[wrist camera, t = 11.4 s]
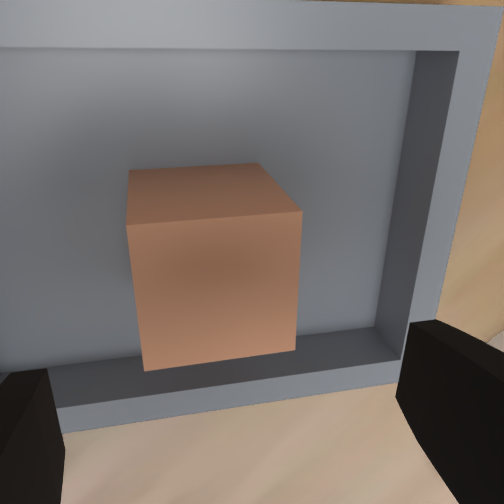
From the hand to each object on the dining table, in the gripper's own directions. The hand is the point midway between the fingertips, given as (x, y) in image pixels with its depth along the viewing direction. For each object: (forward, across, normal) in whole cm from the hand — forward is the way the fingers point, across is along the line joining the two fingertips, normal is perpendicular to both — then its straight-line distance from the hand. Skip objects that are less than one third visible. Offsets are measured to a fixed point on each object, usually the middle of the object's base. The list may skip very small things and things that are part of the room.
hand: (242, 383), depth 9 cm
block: (+9, 0, 0) cm, 9 cm away
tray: (+9, 0, 0) cm, 9 cm away
